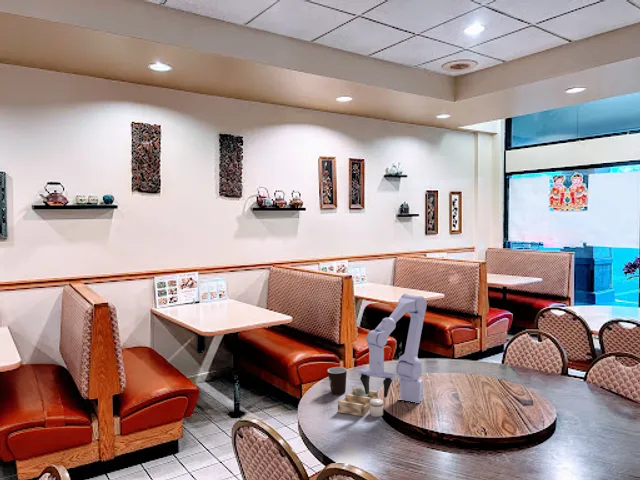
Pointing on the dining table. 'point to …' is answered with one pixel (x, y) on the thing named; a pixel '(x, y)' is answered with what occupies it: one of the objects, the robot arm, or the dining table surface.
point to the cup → (376, 407)
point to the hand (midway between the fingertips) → (376, 395)
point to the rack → (357, 402)
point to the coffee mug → (337, 380)
